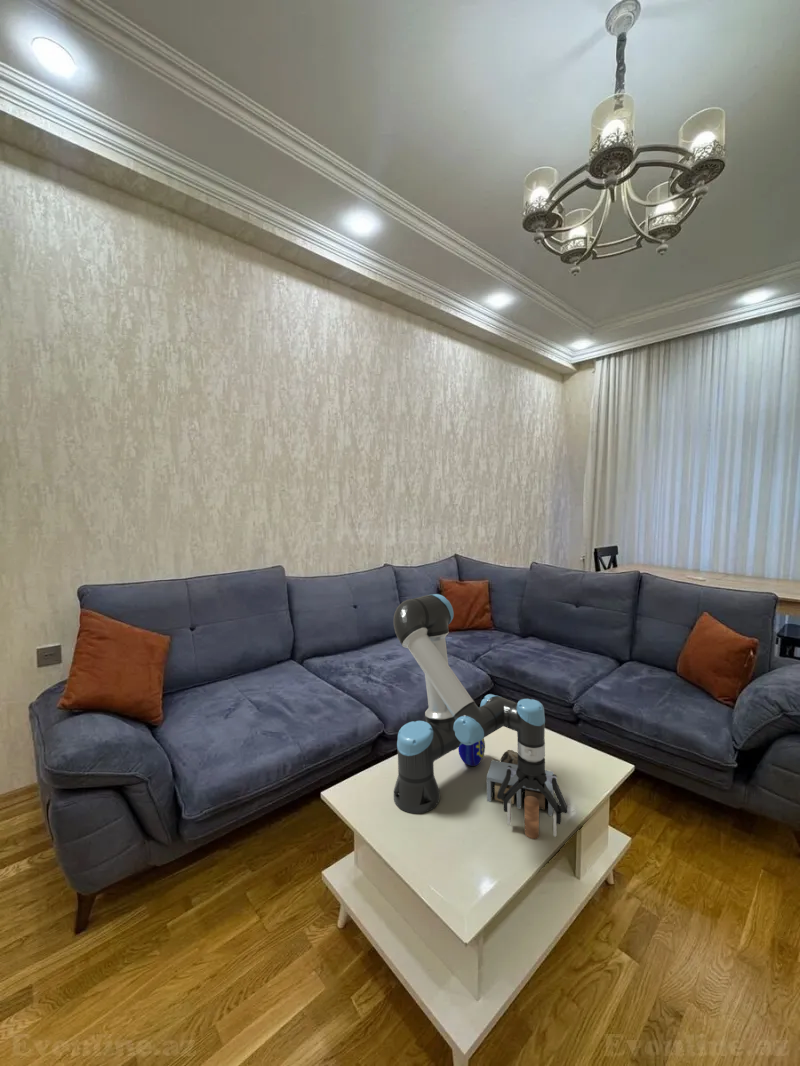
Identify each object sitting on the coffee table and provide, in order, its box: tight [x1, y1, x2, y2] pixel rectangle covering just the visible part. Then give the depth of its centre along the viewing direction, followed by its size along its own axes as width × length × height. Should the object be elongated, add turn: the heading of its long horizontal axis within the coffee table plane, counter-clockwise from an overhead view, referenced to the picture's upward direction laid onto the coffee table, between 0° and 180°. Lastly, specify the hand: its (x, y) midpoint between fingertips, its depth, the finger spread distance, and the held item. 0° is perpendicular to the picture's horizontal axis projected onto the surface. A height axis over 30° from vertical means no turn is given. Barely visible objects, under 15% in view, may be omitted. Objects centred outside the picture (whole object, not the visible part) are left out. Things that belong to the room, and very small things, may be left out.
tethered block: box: [523, 788, 547, 840], centre depth 131 cm, size 6×20×10 cm, turn 158°
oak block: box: [494, 782, 517, 805], centre depth 141 cm, size 6×6×5 cm
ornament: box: [457, 737, 486, 767], centre depth 159 cm, size 11×9×15 cm
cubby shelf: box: [486, 759, 555, 817], centre depth 139 cm, size 20×10×8 cm, turn 68°
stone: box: [500, 749, 518, 765], centre depth 152 cm, size 7×12×7 cm, turn 33°
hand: (531, 827), depth 124 cm, fingers open, 12 cm apart
